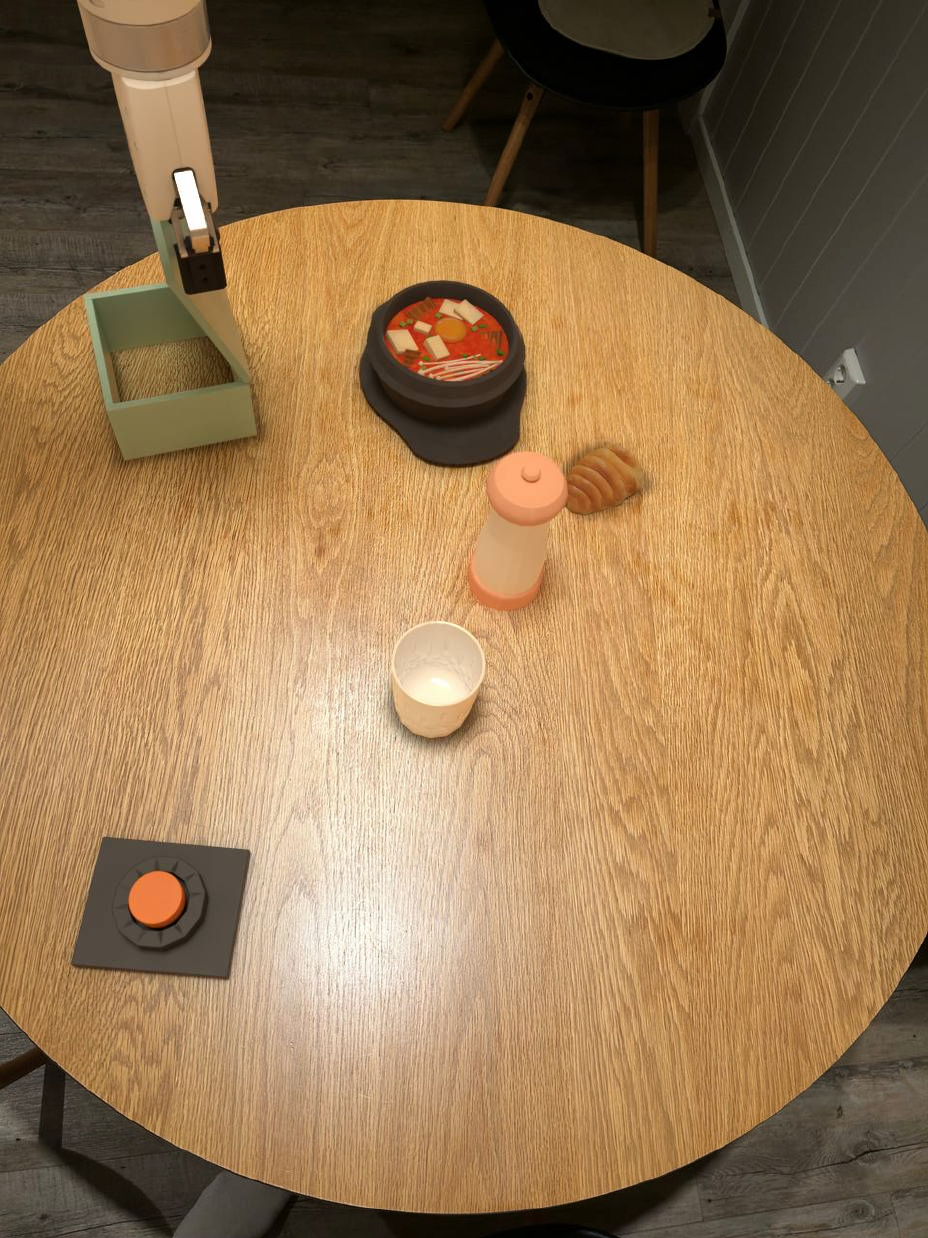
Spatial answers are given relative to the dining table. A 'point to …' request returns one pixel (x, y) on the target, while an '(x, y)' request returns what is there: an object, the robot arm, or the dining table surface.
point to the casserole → (446, 371)
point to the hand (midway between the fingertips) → (192, 245)
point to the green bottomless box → (171, 416)
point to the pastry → (603, 480)
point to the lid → (202, 298)
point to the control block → (183, 945)
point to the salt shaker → (516, 530)
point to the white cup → (436, 677)
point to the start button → (157, 899)
